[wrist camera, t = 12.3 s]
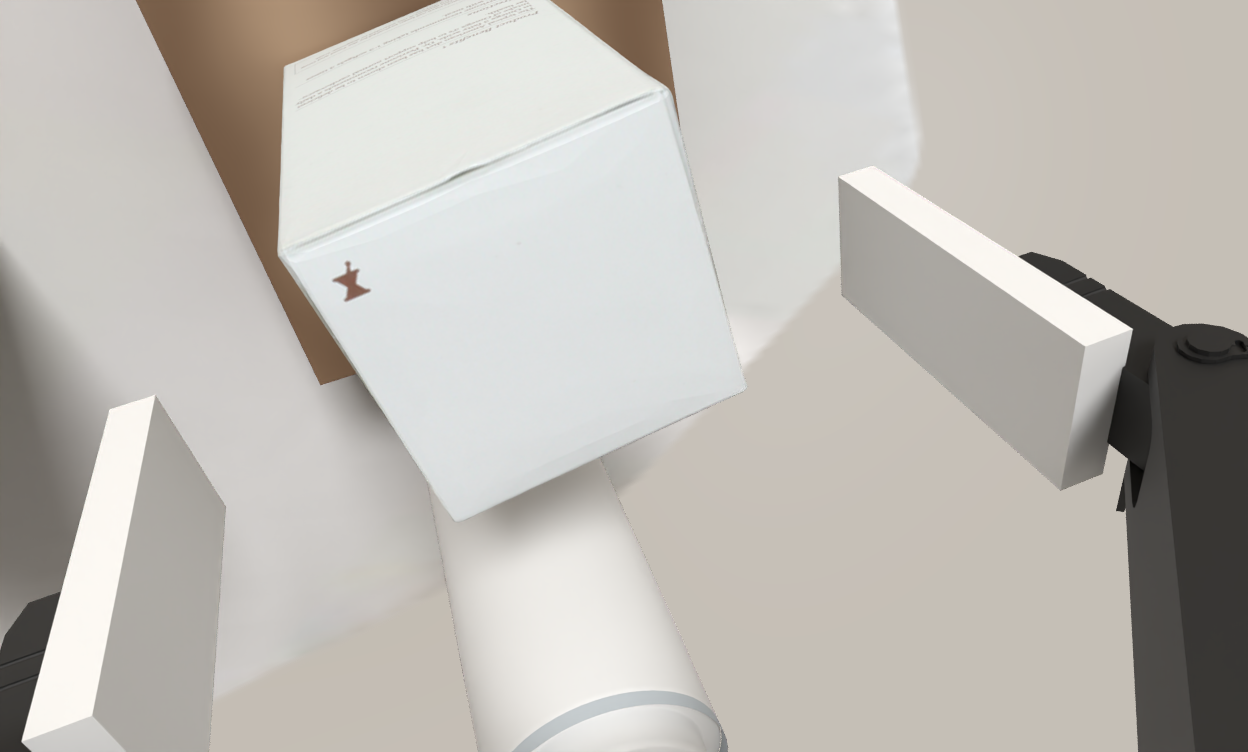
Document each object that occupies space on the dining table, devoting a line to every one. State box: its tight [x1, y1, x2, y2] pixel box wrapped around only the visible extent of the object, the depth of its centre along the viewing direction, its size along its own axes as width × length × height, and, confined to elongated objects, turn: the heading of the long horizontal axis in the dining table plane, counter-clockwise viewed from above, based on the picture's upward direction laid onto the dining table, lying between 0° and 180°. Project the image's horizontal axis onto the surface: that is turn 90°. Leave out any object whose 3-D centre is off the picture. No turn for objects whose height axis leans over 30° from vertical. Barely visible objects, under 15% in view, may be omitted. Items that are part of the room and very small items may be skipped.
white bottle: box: [427, 458, 728, 752], centre depth 29 cm, size 7×7×25 cm
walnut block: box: [136, 0, 680, 385], centre depth 29 cm, size 14×14×5 cm
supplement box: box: [277, 0, 747, 523], centre depth 22 cm, size 7×7×13 cm
